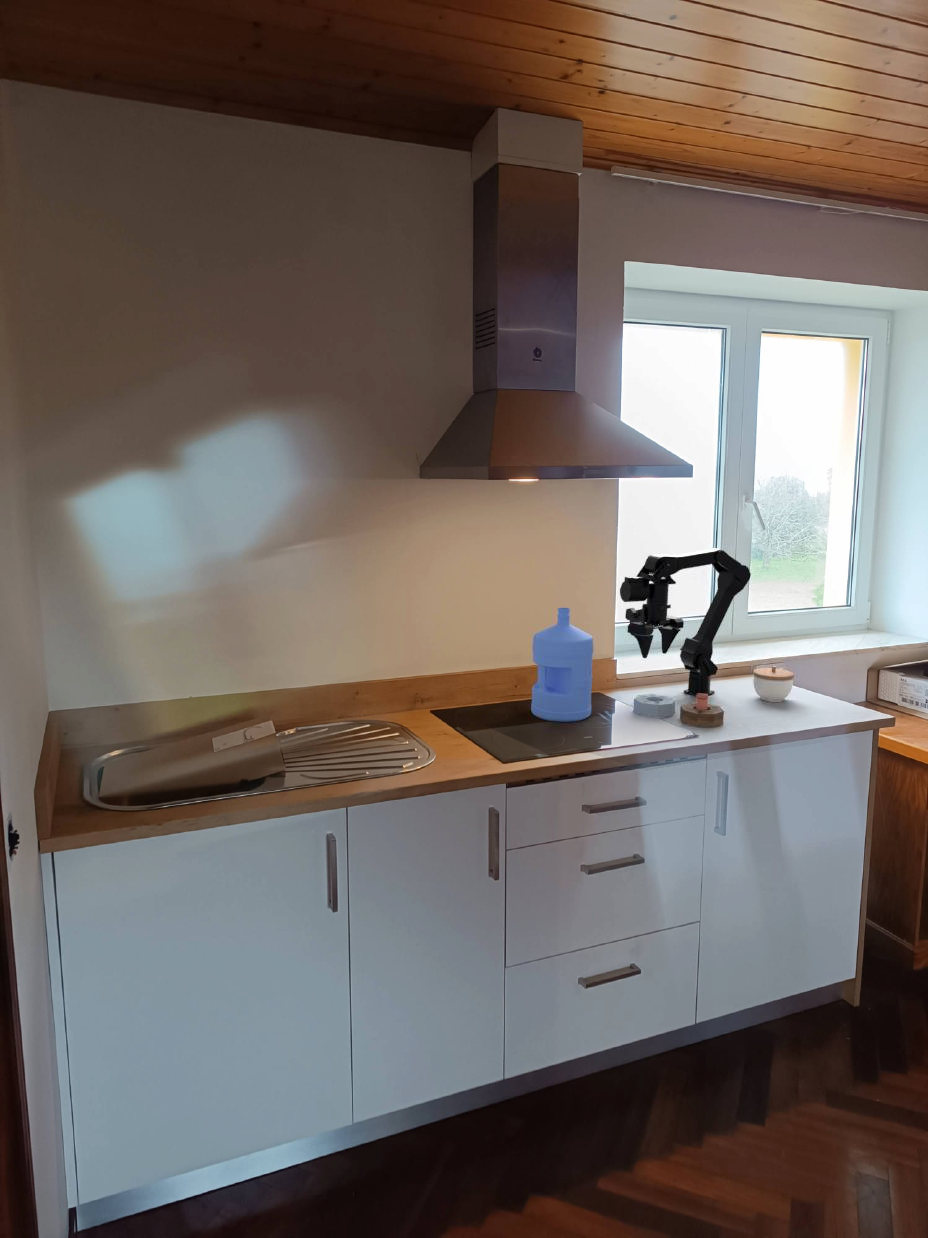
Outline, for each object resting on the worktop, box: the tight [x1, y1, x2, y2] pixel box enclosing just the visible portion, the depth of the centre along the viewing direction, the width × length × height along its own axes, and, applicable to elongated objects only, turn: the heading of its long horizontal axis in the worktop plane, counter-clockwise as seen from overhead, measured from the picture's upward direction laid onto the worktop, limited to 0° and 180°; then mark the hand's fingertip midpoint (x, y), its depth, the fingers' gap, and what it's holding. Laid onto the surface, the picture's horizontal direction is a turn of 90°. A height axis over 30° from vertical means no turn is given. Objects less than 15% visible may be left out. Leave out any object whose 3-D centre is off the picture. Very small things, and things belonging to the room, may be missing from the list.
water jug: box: [530, 607, 594, 723], centre depth 221 cm, size 16×16×28 cm
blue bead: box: [632, 693, 676, 719], centre depth 226 cm, size 10×10×4 cm
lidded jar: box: [752, 665, 795, 703], centre depth 239 cm, size 11×11×9 cm
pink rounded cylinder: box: [695, 693, 709, 711], centre depth 217 cm, size 3×3×7 cm
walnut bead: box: [679, 702, 725, 728], centre depth 218 cm, size 10×10×4 cm
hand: (654, 655), depth 239 cm, fingers open, 9 cm apart
